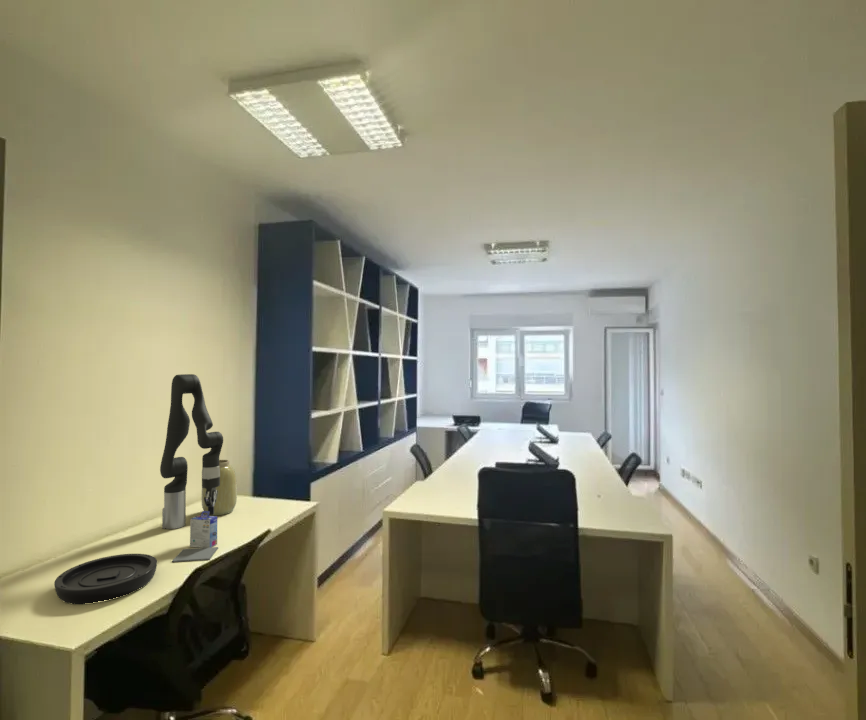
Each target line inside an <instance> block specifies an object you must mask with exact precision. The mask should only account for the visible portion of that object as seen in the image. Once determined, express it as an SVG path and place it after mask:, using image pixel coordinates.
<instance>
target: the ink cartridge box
mask: <svg viewBox="0 0 866 720" xmlns="http://www.w3.org/2000/svg"><path fill="white" fill-rule="evenodd" d="M205 513H208V515H207V514H205ZM209 513H210V511H204V510H202V511H201V514H200V515H196V516H195V517H191V518H190V523H189V524H190V527H189V528H190V529H189V530H190V531H189V547H190V548H209V547H216V545H218V516H210V515H209Z"/></svg>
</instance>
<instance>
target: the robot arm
mask: <svg viewBox="0 0 866 720" xmlns="http://www.w3.org/2000/svg"><path fill="white" fill-rule="evenodd" d="M185 394H186V395H187V394H191V395H192V397H193V399H194V401H193V402H194V403H193V406H192V409H191V418H192V421H193V423H194V426H195V428H196V436H197V445H198V446H199V447H200V448H201V449H203V450H207V449H210V450H209V451H208V452H207V453H204V454H203V455H202V459H201V460H202V465H201V466H202V469H201V489H202V488H206V492H205V496H206V497H204V501H205V504H206V507H208V511H210V513H209V516H210V515H213V514H214V505H215V503H216V499H217V494H218V490H216V487H218V486H220V467H219V460H220V457H221V456H220V455H221V451H222V448H223V445H224V437H223V434H222V432H220V431H211V432H207V431H208V430H209V431H210V430H211V429H212V428H213V426H214V425H213V421H212V419H211V416H210V414H209V412H208V409H207V406H206V401H205V397H204V392H203V388H202V384H201V380H200V378H199V377H198V375H197V374H192V373H190V374H188V373H186V374H183V373H182V374H175V375H174V377H173V378H172V380H171V390H170V408H169V413H168V414H169V415H168V421H167V428H166V430H167V431H166V436H165V443H164V449H163V452H162V453H163V454H162V457H161V460H160V461H161V462H160V466H159V467H160V468H159V471H160V473H159V474H160V475H161V477H162V478H163V479H171V478H173V480H171V481H170V482H169V483H167V484H166V485H165V486H164V487H163V489H164V490H163V491H164V492H163V498H164V499H163V505H164V506H163V508H162V509H161V510H162V511H161V512H162V516H161V517H162V518H161V519H162V521H161V522H162V525H161V526H162V529H165V528H166V529H165V530H174V529H180V528H183V527H185V526H186V516H187V515H186V511H187V510H186V508H187V507H186V505H187V503H186V502H187V501H186V499H187V498H186V497H187V496H186V495H187V490H186V489H187V487H186V486H187V485H188V469H189V468H188V461H187V459H186V458H185V457H184V456H177V457H176V456H175V455H176V452H177V450H178V448H179V447H180V446H181V444H182V443H183V442H184V440H185V439H186V438H187V436H188V435H189V431H190V425H191V419H190V417H189V415H188V413H187V410H186V409H185V407H184V404H183V396H184V395H185Z"/></svg>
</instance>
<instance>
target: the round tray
mask: <svg viewBox="0 0 866 720" xmlns="http://www.w3.org/2000/svg"><path fill="white" fill-rule="evenodd" d="M157 566H158V560H157V558H156V557H154V556H153V555H150V554H146V553H122V554H115V555H108V556H104V557H100V558H96V559H92V560H89V561H86V562H82V563H80V564H78V565H75V566H73V567H71V568H69V569H67V570H65V571H63V572H62V573H61V574H59V575H58V576H57V577H56V578H55V580H54V583H53V584H54V590H55V594H56V595H57V597H58V599H59V600H60V601H62V602H63V601H64V602H63V603H66V604H69V603H72V604H71V605H86V604H85V603H93V602H98V601H104V600H109V599H113V598H116V597H120V596H123V595H126V594H128V595H130V594H129V593H131V592H133V591H135V590H137V589H139V588H141V587H142V588H144V587H145V586H147V585H148V584H149V583H150V582H151V581H152V579H153V578H154V576H155V575H156V571H157ZM148 582H149V583H148ZM147 583H148V584H147ZM146 584H147V585H146ZM144 585H145V586H144ZM143 586H144V587H143ZM142 588H141V589H142ZM139 590H140V589H139ZM137 591H138V590H137ZM135 592H136V591H135ZM133 593H134V592H133ZM131 594H132V593H131ZM126 596H127V595H126ZM123 597H124V596H123ZM120 598H121V597H120ZM113 600H114V599H113ZM109 601H110V600H109ZM93 604H94V603H93Z"/></svg>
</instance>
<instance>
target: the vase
mask: <svg viewBox="0 0 866 720" xmlns="http://www.w3.org/2000/svg"><path fill="white" fill-rule="evenodd" d="M219 467H220V486H218V487H216V490H218V494H217V499H216V503H215V505H214V514H213V515H209V516H217V517H218V516H223V515H224V516H225V515H228V514H230V513H232V512H233V511H234V509H235V507H236V505H237V502H238V500H237V499H238V488H237V487H238V485H237V476H236V472H235V469H234V467H233V466H232V465H231V464H230V460H229V459H219ZM205 492H206V488H202V487H201V508H202V511H208V507H206V504H205V501H204V497H206V496H205ZM204 515H208V513H204Z"/></svg>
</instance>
